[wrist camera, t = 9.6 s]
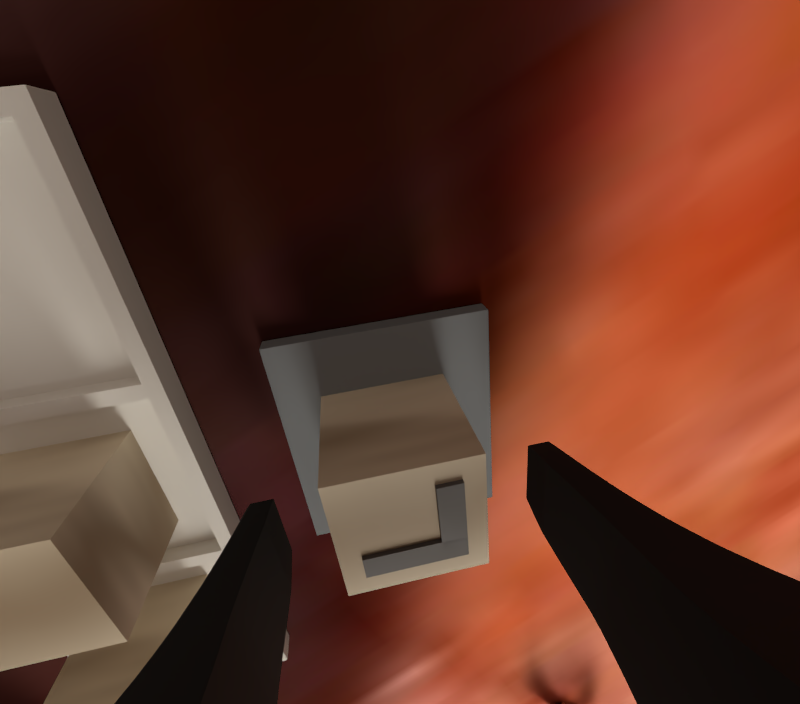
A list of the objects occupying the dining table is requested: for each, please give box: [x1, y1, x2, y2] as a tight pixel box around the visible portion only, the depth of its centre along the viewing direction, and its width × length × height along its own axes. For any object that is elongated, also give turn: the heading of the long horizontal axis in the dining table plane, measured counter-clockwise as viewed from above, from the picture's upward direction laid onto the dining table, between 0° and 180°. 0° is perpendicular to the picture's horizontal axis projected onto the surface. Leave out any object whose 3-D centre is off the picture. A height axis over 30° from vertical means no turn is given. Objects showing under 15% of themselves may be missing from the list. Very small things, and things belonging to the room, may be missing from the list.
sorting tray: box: [0, 85, 289, 661], centre depth 13 cm, size 22×8×1 cm, turn 7°
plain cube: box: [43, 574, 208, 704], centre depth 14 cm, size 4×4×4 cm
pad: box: [259, 304, 492, 535], centre depth 14 cm, size 8×7×1 cm
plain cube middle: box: [0, 430, 178, 671], centre depth 11 cm, size 4×4×4 cm
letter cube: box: [318, 374, 489, 596], centre depth 12 cm, size 4×4×4 cm
